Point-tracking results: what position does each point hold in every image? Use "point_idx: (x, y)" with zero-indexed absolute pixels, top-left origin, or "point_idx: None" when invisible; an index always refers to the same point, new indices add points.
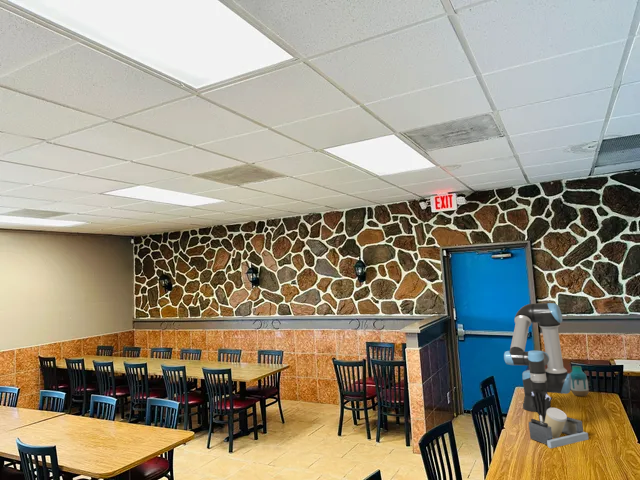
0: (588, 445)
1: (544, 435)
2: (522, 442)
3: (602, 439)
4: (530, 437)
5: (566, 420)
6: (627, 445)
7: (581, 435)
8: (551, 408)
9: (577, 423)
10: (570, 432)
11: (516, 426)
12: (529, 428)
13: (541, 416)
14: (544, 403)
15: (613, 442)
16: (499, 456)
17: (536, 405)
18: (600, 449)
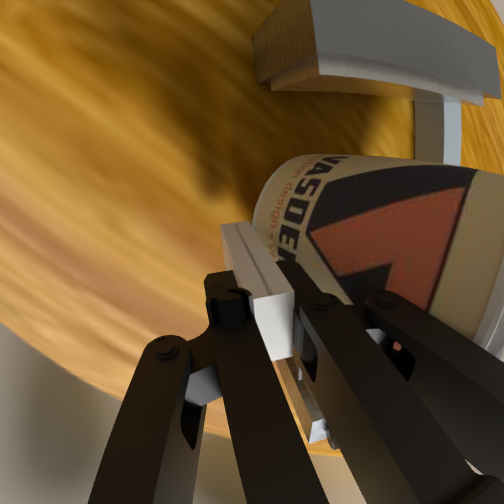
0: (469, 150)
1: None
2: (286, 396)
3: (444, 16)
4: (278, 366)
5: (409, 71)
6: (499, 33)
7: (456, 117)
8: (501, 348)
9: (491, 97)
10: (377, 94)
11: (19, 302)
12: (295, 407)
13: (287, 348)
14: (439, 468)
15: (475, 29)
16: (335, 453)
17: (186, 474)
18: (498, 153)
